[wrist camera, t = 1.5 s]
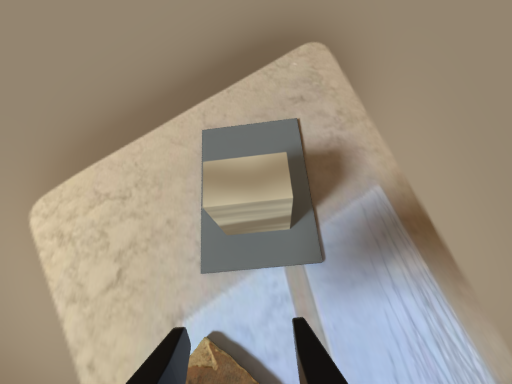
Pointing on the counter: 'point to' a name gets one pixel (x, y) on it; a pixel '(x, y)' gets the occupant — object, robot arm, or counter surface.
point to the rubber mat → (270, 242)
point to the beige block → (248, 193)
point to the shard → (215, 367)
